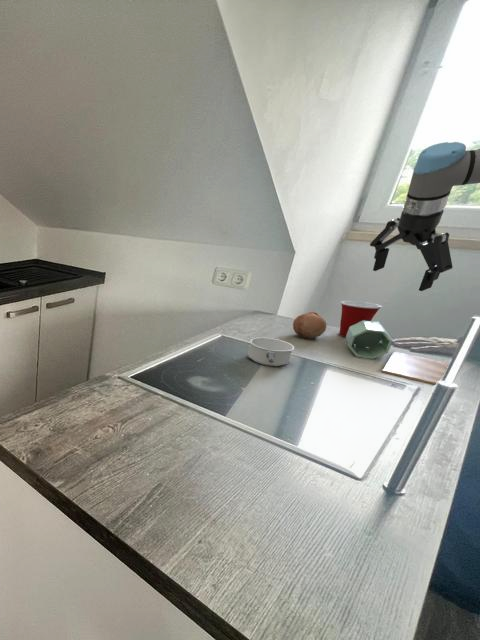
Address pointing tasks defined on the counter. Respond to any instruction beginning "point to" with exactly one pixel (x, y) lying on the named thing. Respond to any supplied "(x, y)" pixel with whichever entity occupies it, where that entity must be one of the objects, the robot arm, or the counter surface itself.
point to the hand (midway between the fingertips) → (400, 278)
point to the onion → (309, 325)
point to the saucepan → (270, 351)
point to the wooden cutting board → (415, 367)
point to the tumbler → (368, 339)
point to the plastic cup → (356, 314)
